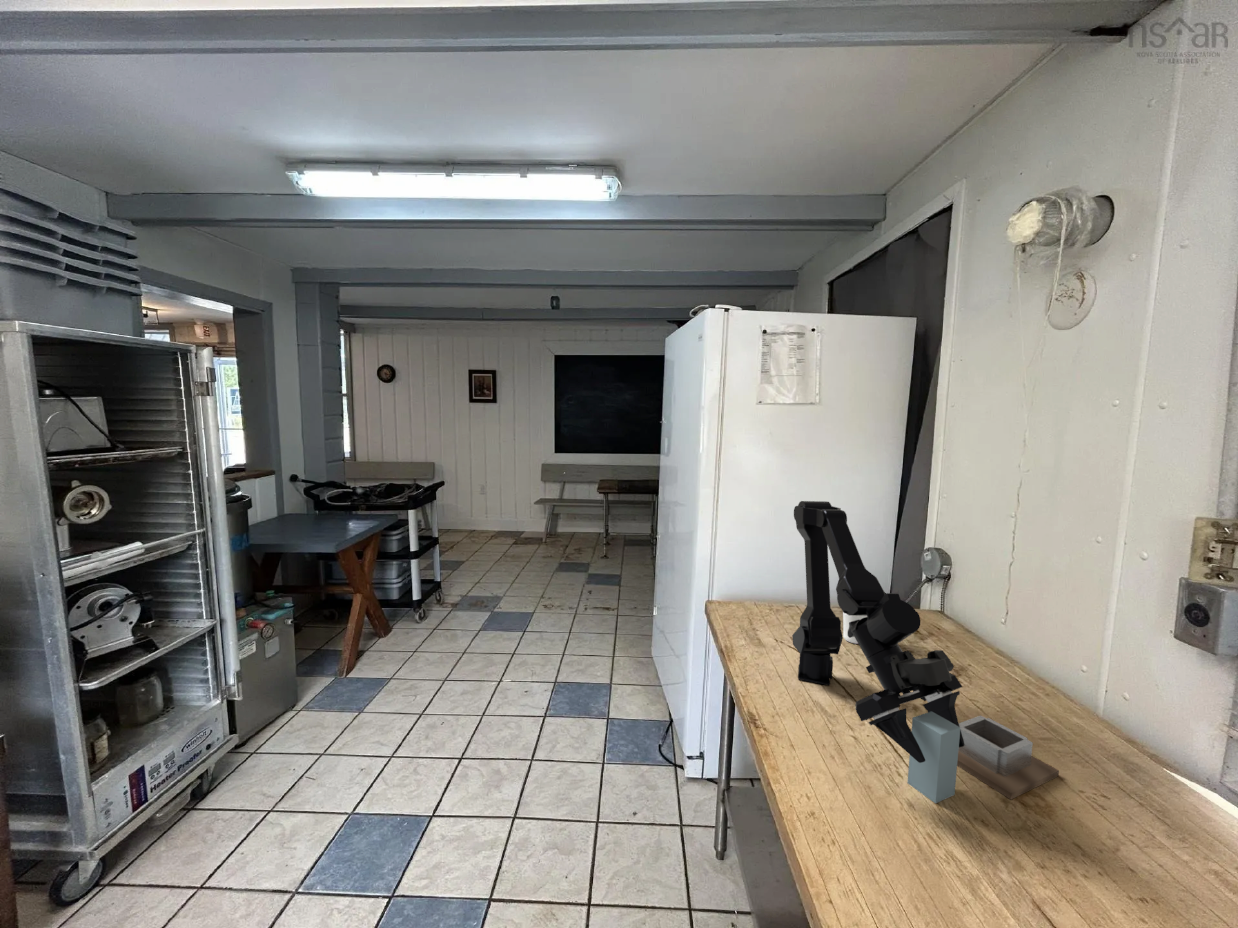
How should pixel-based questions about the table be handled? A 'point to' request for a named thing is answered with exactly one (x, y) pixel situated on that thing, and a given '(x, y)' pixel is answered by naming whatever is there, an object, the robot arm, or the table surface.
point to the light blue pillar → (935, 756)
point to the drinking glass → (846, 621)
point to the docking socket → (1001, 758)
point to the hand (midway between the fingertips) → (942, 754)
